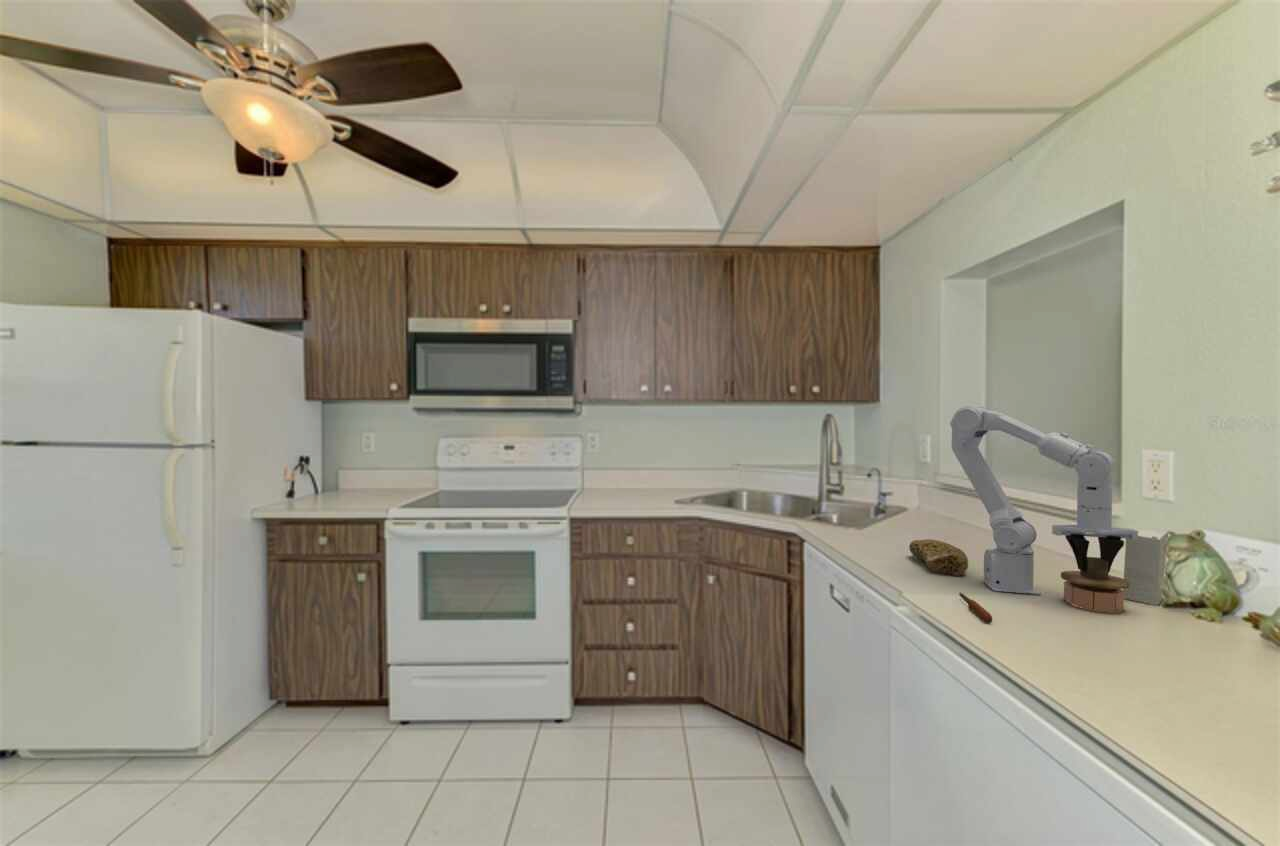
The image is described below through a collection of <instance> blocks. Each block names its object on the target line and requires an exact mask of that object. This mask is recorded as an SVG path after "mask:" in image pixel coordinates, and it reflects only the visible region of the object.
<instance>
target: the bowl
mask: <svg viewBox="0 0 1280 846" xmlns="http://www.w3.org/2000/svg"><path fill="white" fill-rule="evenodd" d="M1064 599H1065V600H1066V601H1068V602H1069V603H1071V604H1073V605H1076V606H1078V607H1082V608H1085V609H1084V610H1086V609H1088V610H1087V611H1090V610H1092V611H1091V612H1094V611H1098V612H1097V613H1105V612H1109V613H1108V614H1118V613H1120V612H1124V611H1123V610H1125V609H1124V607H1125V599H1124V591H1123V589H1108V588H1098V587H1091V586H1086V585H1081V584H1076V583H1072V582H1069V581H1066V580H1064V582H1063V600H1064ZM1066 601H1065V602H1066ZM1078 607H1077V608H1078ZM1082 608H1081V609H1082ZM1093 610H1094V611H1093Z"/></svg>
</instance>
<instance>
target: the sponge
mask: <svg viewBox="0 0 1280 846" xmlns="http://www.w3.org/2000/svg"><path fill="white" fill-rule="evenodd" d="M908 548H909V551H910V553H911V554H912V555H913V556H914V557H915V558H916V559H918V560H920V561H921V562H924V563H925V564H926V566H927V567H928V568H929V569H930V570H931V571H934V572H936V573H939V574H946V575H948V574H949V575H951V574H952V575H951V576H953V575H955V576H954V577H959V576H961V575H963V574H964V573H966V571H967V570H968V568H969V558H968V557H967V555H966V553H965V551H963V550H961V548H959V547H956V546H954V545H952V544H951V543H948V542H945V541H941V540H937V539H930V538H925V539H916V540H912V541H910V543H909V547H908Z"/></svg>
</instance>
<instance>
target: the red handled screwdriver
mask: <svg viewBox="0 0 1280 846" xmlns="http://www.w3.org/2000/svg"><path fill="white" fill-rule="evenodd" d="M958 596H959V597H961V599H962V600H963V601H964V602H966V604H967V607H968V609H969V608H970V609H969V610H971V611H972V610H973V611H972V612H973V613H974V614H975V615H976V614H977V617H978V618H979V617H980V618H979V619H980V620H981V619H982V620H983V621H984V623H985V622H986V623H988V624H990V623H992V622H993V615H992V614H991V613H990V612H988V611H987V610H986V609H985V608H984V607H983V606H981V605H980V604H979V603H978V602H977V601H976V600H974V599H971V598H969V597H967V596H966V595H965V594H964V593H963V592H959V593H958ZM982 620H981V621H982ZM983 621H982V622H983Z"/></svg>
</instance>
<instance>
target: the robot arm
mask: <svg viewBox="0 0 1280 846" xmlns="http://www.w3.org/2000/svg"><path fill="white" fill-rule="evenodd" d="M949 425H950V427H951V450H952V452H953V454H954V455H955V457H956V459H957V461H958V463H959V464H960V466H961V467H962V469H963V471H964V473H965V475H966V476H967V478H968V480H969V482H970V483H971V484H972V487H973V489H974V490H975V492H976V494H977V495H978V497H979V499H980V500H981V503H982V504H983V506H984V508H985V509H986V511H987V513H988V515H989V527H991V529H992V532H993V533H992V536H993V541H994V543H995V544H996V548H993V549H992V548H991V549H990V548H989V549H986V550H985V551H984V554H983V579H982V582H983V583H984V584H985V585H986V586H987V587H988V588H990V589H991V590H992V591H993V590H994V592H1002V591H1003V592H1005V593H1006V592H1007V593H1014V592H1015V593H1018V594H1027V593H1028V595H1042V594H1041V591H1039V590H1038V589H1037V588H1035V587H1034V564H1035V563H1034V557H1035V553H1034V549H1033V547H1032V544H1034V543H1035V542H1036V540H1037V531H1036V529H1035V526H1033V524H1032V523H1030V522H1028V521H1027V520H1026V519H1025V518H1024V517H1023V515H1022V514H1021V512H1019V511H1018V510H1017V509H1016V508H1015V507H1014V506H1013V505H1012V503H1011V502H1010V500H1009V498H1008V496H1007V495H1006V493H1005V491H1004V490H1003V488H1002V486H1001V485H1000V483H999V481H998V479H997V478H996V476H995V473H993V471H992V469H991V468H990V465H989V464H988V463H987V461H986V459H985V457H984V456H983V454H982V452H981V451H980V449H979V446H980V444H981V441H982V440H983V437H984V436H985V435H986V434H987V433H988V432H989V431H999V432H1003V433H1006V434H1008V435H1010V436H1012V437H1015V438H1016V439H1019V440H1022V441H1024V442H1027V443H1029V444H1031V445H1033V446H1035V447H1037V450H1038V452H1039V454H1040V455H1041V456H1044V457H1046V458H1048V459H1049V460H1051V461H1055V462H1056V463H1058V464H1061V465H1063V466H1065V467H1067V468H1068V469H1074V471H1075V472H1076V473H1077V475H1078V478H1077V479H1078V484H1077V489H1076V490H1077V491H1076V492H1077V494H1076V497H1077V498H1076V499H1077V500H1076V501H1077V502H1076V505H1077V506H1076V524H1062V525H1061V524H1052V526H1051V527H1052V528H1051V529H1052V530H1051V533H1052V534H1053V535H1054V536H1060V537H1061V536H1065V540H1066V541H1067V542H1068V544H1069V546H1070V548H1071V550H1072V552H1073V555H1074V558H1075V561H1076V565H1077V569H1078V570H1079V571H1080V570H1082V571H1086V569H1087V557H1088V552H1089V551H1088V550H1089V545H1090V541H1089V540H1087V539H1086V538H1087V537H1091V538H1097V539H1098V540H1097V541H1098V544H1099V552H1100V553H1099V554H1100V555H1099V556H1100V557H1099V558H1102V559H1104V560H1106V561H1108V574H1109V573H1110V572H1111V567H1112V565H1113V563H1114V561H1115V558H1116V556H1117V555H1118V553H1119V551H1121V550H1122V548H1123V547H1124V545H1125V541H1124V540H1122V539H1125V540H1126V539H1132V540H1138V531H1137V530H1134V529H1133V528H1125V527H1112V526H1113V524H1112V523H1113V522H1112V519H1113V487H1112V483H1113V479H1112V475H1111V473H1112V472H1113V471H1114V470H1115V467H1116V464H1115V459H1114V458H1113V457H1112V455H1110V454H1109V453H1106V451H1105V450H1102V449H1093V448H1094V446H1093V445H1091V444H1089V443H1087V444H1086V445H1085V444H1083V443H1081V442H1079V441H1076V440H1074V439H1072V438H1070V437H1069V436H1070V435H1069V434H1068V433H1065V432H1060V433H1058V432H1055V431H1054V432H1050V433H1044V432H1042V431H1039V429H1036V428H1034V427H1031V426H1030V425H1028V424H1026V423H1023V422H1021V421H1020V420H1017V419H1016V418H1013V417H1011V416H1009V415H1007V414H1004V413H1001V412H1000V411H996V410H991V409H989V408H988V407H984V406H976V407H974V406H969V405H968V406H962V407H960V408H958V409H957V410H956V411H955V412H954V415H953V417H952V419H951V420H950V422H949ZM1029 593H1030V594H1029Z"/></svg>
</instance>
